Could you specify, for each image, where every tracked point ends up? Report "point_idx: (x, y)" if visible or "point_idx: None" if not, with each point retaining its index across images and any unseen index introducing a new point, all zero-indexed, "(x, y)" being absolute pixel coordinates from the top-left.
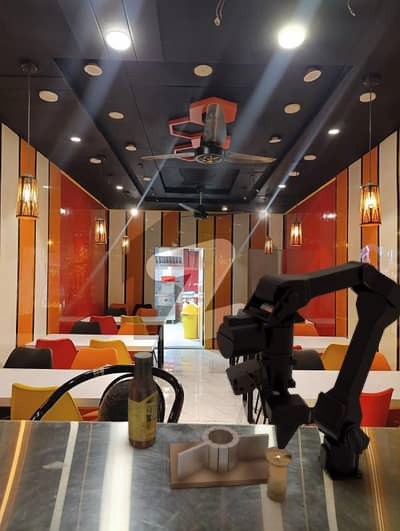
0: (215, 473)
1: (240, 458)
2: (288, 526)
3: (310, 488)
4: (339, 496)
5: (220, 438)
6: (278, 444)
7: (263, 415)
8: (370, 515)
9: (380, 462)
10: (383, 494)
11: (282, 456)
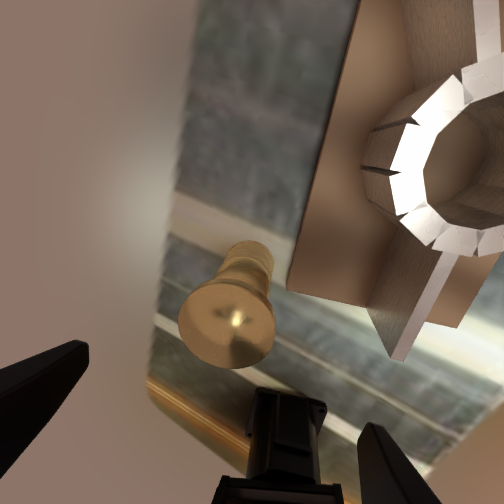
0: (368, 119)
1: (397, 230)
2: (165, 242)
3: None
4: (216, 370)
5: None
6: (32, 357)
7: (386, 434)
8: (168, 384)
9: None
10: (205, 429)
11: (211, 335)
